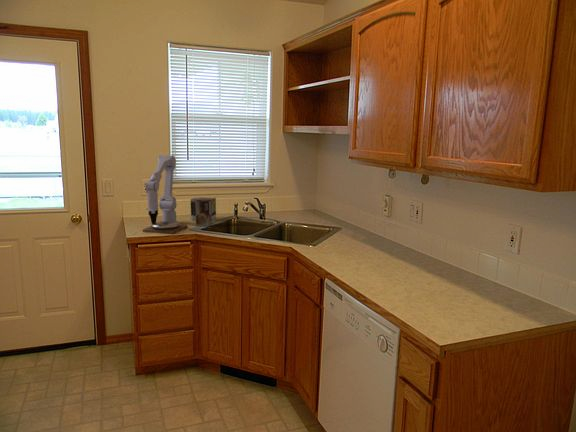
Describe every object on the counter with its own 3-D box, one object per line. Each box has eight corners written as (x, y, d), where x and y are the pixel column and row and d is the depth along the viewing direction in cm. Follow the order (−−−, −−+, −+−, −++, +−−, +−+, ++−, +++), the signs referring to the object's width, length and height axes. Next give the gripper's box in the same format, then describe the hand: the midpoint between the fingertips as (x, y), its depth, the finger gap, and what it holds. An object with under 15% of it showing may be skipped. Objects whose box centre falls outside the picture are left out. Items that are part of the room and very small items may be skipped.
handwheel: (181, 222, 285) (181, 213, 284) (177, 228, 269) (177, 219, 268) (154, 222, 284) (154, 213, 283) (148, 228, 267) (147, 219, 266)
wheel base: (158, 225, 288) (158, 222, 288) (187, 227, 284) (187, 224, 283) (142, 231, 270) (142, 228, 270) (173, 234, 266) (173, 230, 265)
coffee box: (212, 224, 294) (211, 199, 291) (209, 226, 288) (209, 201, 285) (198, 223, 295) (198, 199, 292) (195, 226, 289) (195, 201, 286)
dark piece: (216, 218, 314) (216, 197, 312) (212, 221, 305) (211, 199, 302) (195, 217, 316) (195, 196, 314) (190, 220, 307) (190, 198, 304)
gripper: (146, 199, 278) (147, 221, 280) (145, 203, 264) (146, 225, 267) (158, 199, 280) (159, 220, 282) (158, 202, 266) (159, 225, 268)
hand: (153, 223), depth 274 cm, fingers open, 4 cm apart
